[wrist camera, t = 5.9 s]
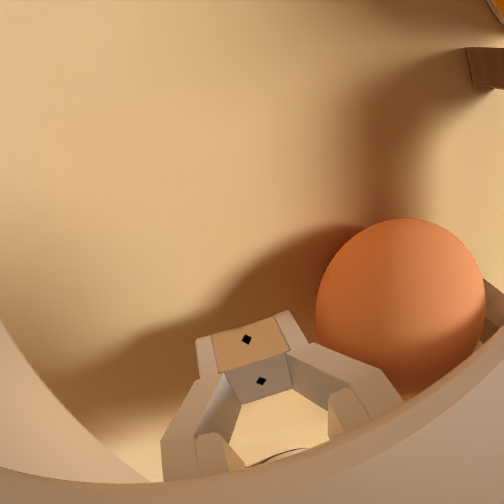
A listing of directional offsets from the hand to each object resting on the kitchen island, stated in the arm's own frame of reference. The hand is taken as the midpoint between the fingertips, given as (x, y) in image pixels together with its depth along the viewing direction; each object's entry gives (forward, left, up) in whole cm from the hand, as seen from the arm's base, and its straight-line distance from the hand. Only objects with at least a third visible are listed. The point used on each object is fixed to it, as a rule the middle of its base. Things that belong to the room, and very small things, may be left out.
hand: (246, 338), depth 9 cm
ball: (0, +5, +1) cm, 5 cm away
